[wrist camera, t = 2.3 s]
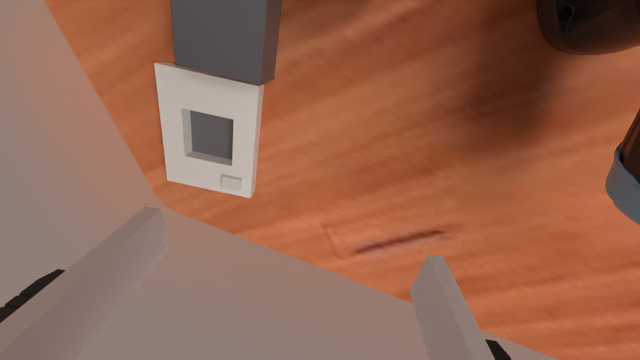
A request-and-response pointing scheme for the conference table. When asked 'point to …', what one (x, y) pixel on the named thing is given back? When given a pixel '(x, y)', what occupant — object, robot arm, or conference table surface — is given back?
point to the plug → (227, 37)
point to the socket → (209, 128)
